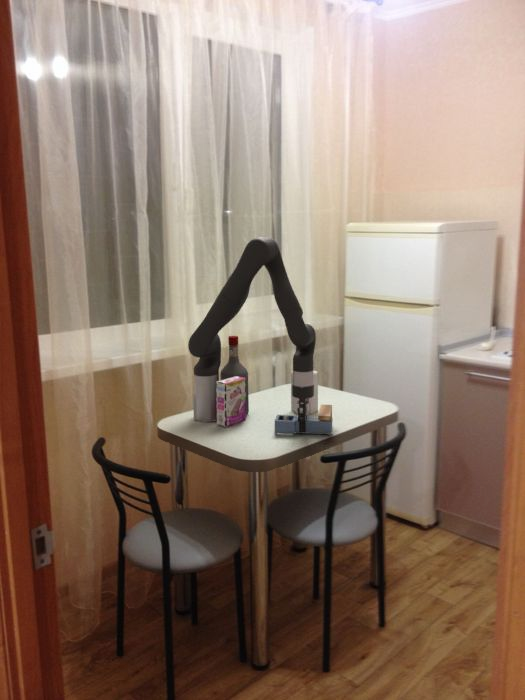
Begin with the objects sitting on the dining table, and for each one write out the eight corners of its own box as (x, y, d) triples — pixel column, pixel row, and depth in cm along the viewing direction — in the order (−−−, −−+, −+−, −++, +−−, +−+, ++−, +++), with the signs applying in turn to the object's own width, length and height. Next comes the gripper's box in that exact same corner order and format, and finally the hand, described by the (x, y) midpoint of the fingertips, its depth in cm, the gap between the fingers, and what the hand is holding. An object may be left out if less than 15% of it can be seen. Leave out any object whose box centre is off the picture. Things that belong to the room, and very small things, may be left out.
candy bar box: (226, 428, 229) (225, 383, 225) (216, 425, 232) (215, 381, 229) (246, 420, 237) (246, 377, 234) (236, 417, 240) (235, 375, 237)
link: (274, 433, 221) (274, 420, 220) (277, 426, 227) (277, 414, 226) (331, 435, 218) (331, 423, 217) (332, 429, 224) (332, 416, 223)
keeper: (318, 438, 217) (318, 415, 215) (320, 426, 229) (320, 404, 228) (329, 438, 216) (330, 416, 215) (331, 426, 229) (332, 404, 227)
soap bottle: (318, 407, 252) (318, 352, 247) (317, 414, 243) (317, 357, 239) (291, 406, 253) (291, 352, 248) (290, 413, 244) (290, 357, 240)
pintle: (282, 432, 223) (282, 416, 221) (283, 431, 225) (283, 414, 223) (288, 433, 222) (288, 416, 221) (289, 431, 224) (289, 414, 223)
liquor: (232, 408, 252) (230, 333, 245) (251, 412, 246) (250, 335, 240) (218, 414, 244) (216, 337, 238) (237, 418, 239) (235, 339, 233)
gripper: (294, 377, 226) (294, 423, 230) (289, 387, 213) (289, 437, 216) (315, 377, 225) (315, 424, 229) (312, 388, 211) (312, 438, 215)
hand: (303, 430), depth 222 cm, fingers closed on link, 4 cm apart
